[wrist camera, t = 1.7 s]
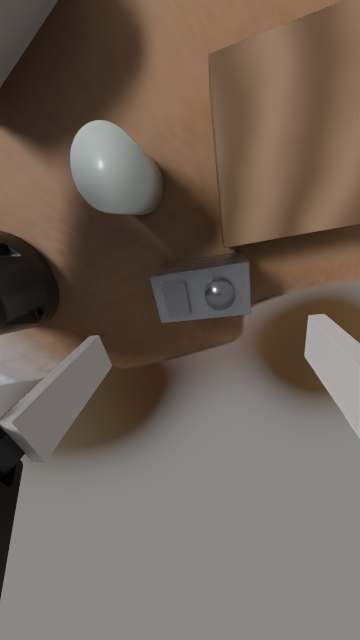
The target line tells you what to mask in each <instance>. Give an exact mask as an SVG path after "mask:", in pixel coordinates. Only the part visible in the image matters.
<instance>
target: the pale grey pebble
mask: <svg viewBox="0 0 360 640" xmlns="http://www.w3.org/2000/svg"><path fill="white" fill-rule="evenodd" d="M70 167H71V172H72V176H73V180H74V182H75V185H76V187H77V189H78V191H79V192H80V194H81V195H82V197H83V198H84V199H85V200H86V201H87V202H88V203H89V204H90V205H91V206H92V207H94V208H96V209H97V210H100V211H102V212H106V213H117V214H130V215H146V214H149V213H151V212H152V211H154V210H155V209H156V208H157V206H158V205H159V203H160V201H161V199H162V195H163V188H164V187H163V178H162V174H161V172H160V170H159V168H158V166H157V165H156V163H155V162H154V161H153V160H152V159H151V158H150V157H149V156H148V155H147V154H146V153H145V152H144V151H143V150H142V149H141V148H140V147H139V146H138V145H137V144H136V143H135V142H134V141H133V140H132V139H131V138H130V137H129V136H128V135H127V134H126V133H125V132H124V131H123V130H122V129H121V128H120V127H118V126H117V125H115V124H113V123H111V122H108V121H104V120H95V121H91V122H89V123H87V124H86V125H84V126H83V127H82V128H81V129H80V130H79V131H78V133H77V134H76V136H75V138H74V140H73V143H72V146H71V152H70Z"/></svg>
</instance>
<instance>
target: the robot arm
mask: <svg viewBox="0 0 360 640" xmlns="http://www.w3.org/2000/svg"><path fill="white" fill-rule="evenodd" d="M58 299H59V298H58V289H57V285H56V281H55V279H54V276H53V274H52V272H51V270H50V269H49V267H48V266H47V264H46V263H45V261H44V260H43V259H42V257H41V256H40V255H39V254H38V253H37V252H36V251H35V250H34V249H33V248H32V247H31V246H29V245H28V244H27V243H25V242H24V241H23V240H21V239H19V238H18V237H16V236H14V235H11V234H9V233H6V232H3V231H0V335H2V334H7V333H11V332H16V331H20V330H25V329H29V328H33V327H36V326H38V325H40V324H41V323H43V322H45V321H46V320H48V319H49V318H51V317H52V316H53V314H54V313H55V311H56V309H57V306H58ZM304 356H305V358H306V359H307V361H308V362H309V363H310V365H311V367H312V368H313V369H314V371H315V373H316V374H317V376H318V377H319V379H320V380H321V382H322V383H323V385H324V386H325V388H326V389H327V391H328V392H329V393H330V395H331V396H332V398H333V399H334V401H335V402H336V404H337V405H338V407H339V408H340V410H341V411H342V413H343V414H344V416H345V417H346V419H347V420H348V422H349V423H350V425H351V426H352V428H353V429H354V431H355V432H356V434H357V435H358V437H359V438H360V343H358V342H357V341H356V340H355V339H354V338H352V337H351V336H350V335H349V334H347V332H345V331H344V330H343V329H342V328H341V327H339V326H338V325H337V324H336V323H334V322H333V321H332V320H331V319H330V318H328V317H327V316H326V315H325V314H318V315H309V316H308V326H307V335H306V345H305V353H304ZM111 367H112V365H111V362H110V360H109V358H108V355H107V353H106V351H105V348H104V346H103V344H102V341H101V339H100V337H99V335H95V336H89V337H88V338H87V339H86V340H85V341H84V342H82V343H81V344H80V345H79V346H78V347H77V348H76V349H75V350H74V351H73V352H72V353H71V354H70V355H68V356H67V357H66V358H65V359H64V360H63V361H62V362H61V363H60V364H59V365H58V366H57V367H56V368H54V369H53V370H52V371H51V372H50V373H49V374H48V375H47V376H46V377H45V378H44V379H43V380H42V381H40V382H39V383H38V384H37V385H36V386H35V387H33V389H31V390H30V391H29V392H28V393H27V394H26V395H25V396H24V397H23V398H22V399H21V400H20V401H19V402H17V403H16V404H15V405H14V406H13V407H12V408H11V409H10V410H9V411H8V412H7V413H5V414H4V415H3V416H2V417H1V418H0V598H1V592H2V586H3V580H4V574H5V569H6V563H7V557H8V551H9V544H10V539H11V533H12V527H13V521H14V515H15V509H16V503H17V498H18V492H19V486H20V480H21V473H22V468H23V464H22V461H20V459H21V458H22V456H23V455H24V454H26V455H27V457H28V458H29V459H30V460H31V461H36V462H46V460H47V459H48V457H49V456H50V454H51V453H52V452H53V450H54V449H55V447H56V446H57V444H58V443H59V442H60V440H61V439H62V437H63V436H64V434H65V433H66V432H67V430H68V429H69V427H70V426H71V424H72V423H73V422H74V420H75V419H76V417H77V416H78V414H79V413H80V411H81V410H82V409H83V407H84V406H85V404H86V403H87V401H88V400H89V399H90V397H91V396H92V394H93V393H94V391H95V390H96V388H97V387H98V386H99V384H100V383H101V381H102V380H103V378H104V377H105V375H106V374H107V373H108V371H109V370H110V368H111Z"/></svg>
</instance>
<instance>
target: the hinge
mask: <svg viewBox="0 0 360 640" xmlns="http://www.w3.org/2000/svg"><path fill="white" fill-rule="evenodd" d="M57 1H58V0H0V87H1V86H2V84H3V83H4V81H5V80H6V78H7V77H8V75H9V74H10V72H11V71H12V69H13V68H14V66H15V65H16V63H17V62H18V60H19V59H20V57H21V56H22V54H23V53H24V51H25V50H26V48H27V47H28V45H29V44H30V42H31V41H32V39H33V38H34V36H35V35H36V33H37V32H38V30H39V28H40V27H41V25H42V24H43V22H44V21H45V19H46V18H47V16H48V15H49V13H50V12H51V10H52V9H53V7H54V6H55V4H56V3H57Z"/></svg>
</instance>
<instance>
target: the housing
mask: <svg viewBox="0 0 360 640" xmlns="http://www.w3.org/2000/svg"><path fill="white" fill-rule="evenodd" d="M150 281H151V285H152V288H153V292H154V296H155V300H156V304H157V308H158V312H159V316H160V319H161V323H168V322H178V321H188V320H198V319H207V318H217V317H227V316H237V315H247V314H251V301H250V270H249V261H248V260H247V259H246V257H245V256H244V255H243V254H242V253H241V252H240V251H239V252H233V253H227V254H221V255H215V256H209V257H203V258H198V259H192V260H186V261H180V262H174V263H168V264H164V265H163V266H162V267H160V268H159V269H158V270H157V271H156V272H155V273H154V274H153V275H152V276H151V277H150Z"/></svg>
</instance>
